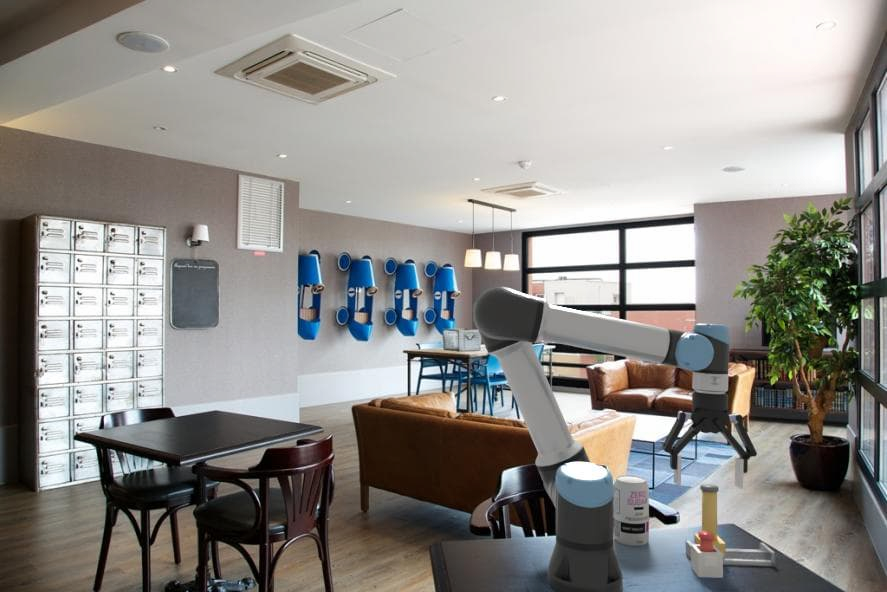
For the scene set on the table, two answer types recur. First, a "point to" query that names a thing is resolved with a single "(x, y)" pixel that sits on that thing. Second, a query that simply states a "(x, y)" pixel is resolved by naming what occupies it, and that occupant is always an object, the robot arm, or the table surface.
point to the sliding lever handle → (710, 515)
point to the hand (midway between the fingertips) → (707, 485)
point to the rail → (745, 556)
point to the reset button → (706, 541)
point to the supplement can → (631, 510)
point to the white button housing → (707, 562)
